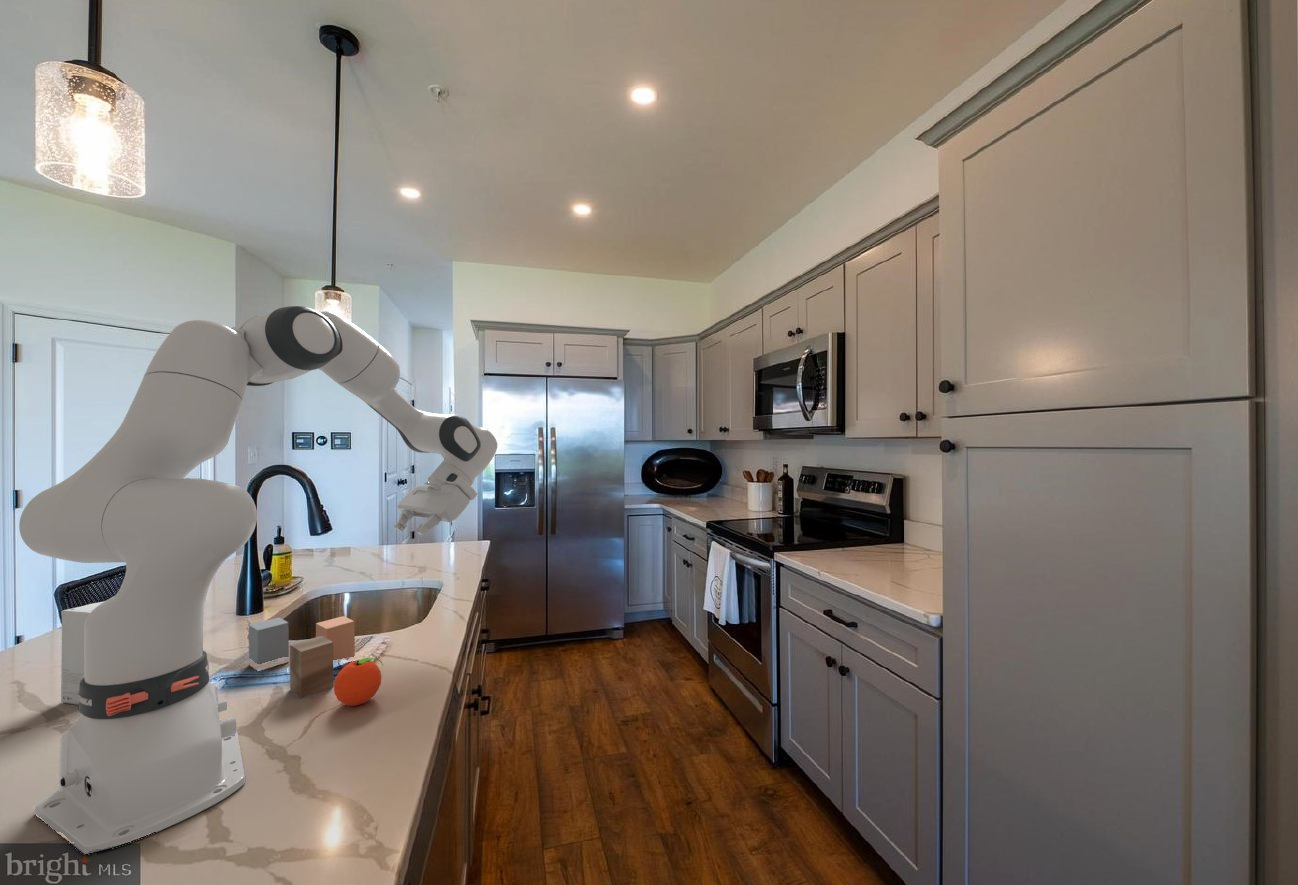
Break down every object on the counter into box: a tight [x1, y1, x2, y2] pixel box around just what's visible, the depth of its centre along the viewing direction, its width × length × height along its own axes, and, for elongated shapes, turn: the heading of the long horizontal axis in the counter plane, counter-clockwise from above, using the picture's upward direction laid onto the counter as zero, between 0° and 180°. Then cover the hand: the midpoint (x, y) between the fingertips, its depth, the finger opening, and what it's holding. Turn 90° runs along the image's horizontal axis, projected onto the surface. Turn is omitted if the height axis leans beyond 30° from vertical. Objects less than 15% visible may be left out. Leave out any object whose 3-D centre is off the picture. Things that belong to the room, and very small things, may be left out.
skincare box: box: [60, 600, 106, 706], centre depth 87 cm, size 8×7×16 cm
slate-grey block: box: [248, 617, 290, 664], centre depth 98 cm, size 5×5×8 cm
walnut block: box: [289, 636, 335, 699], centre depth 88 cm, size 5×5×8 cm
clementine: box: [333, 657, 384, 707], centre depth 84 cm, size 8×7×7 cm
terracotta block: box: [315, 615, 356, 660], centre depth 99 cm, size 5×5×8 cm
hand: (408, 531), depth 111 cm, fingers open, 8 cm apart
